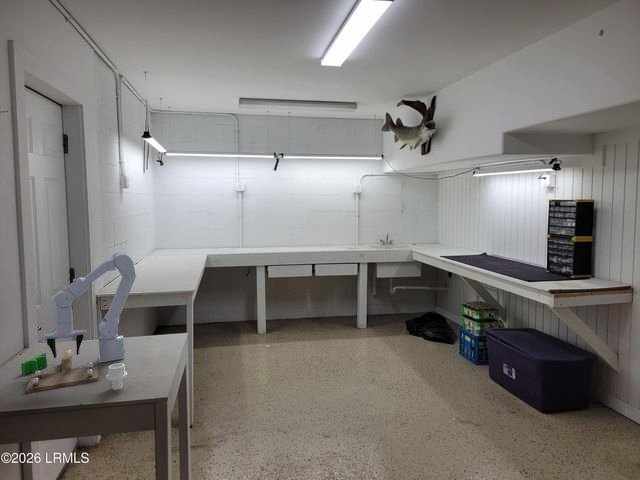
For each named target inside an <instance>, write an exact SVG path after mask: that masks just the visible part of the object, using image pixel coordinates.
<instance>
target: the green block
mask: <svg viewBox="0 0 640 480" xmlns="http://www.w3.org/2000/svg"><path fill="white" fill-rule="evenodd" d="M20 365H21V366H20V367H21V369H20V370H21V375H23V376H26V375H27V374H29V373H31V372H32V373H35V371H37V370H40V369H42V368H45V369H46V368H47V367H48V363H47V353H46V352H44V353H41V354H39V355H37V356H34V357H32V358H30V359H28V360H26V361H24V362H21V363H20Z"/></svg>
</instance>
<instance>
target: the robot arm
mask: <svg viewBox="0 0 640 480" xmlns="http://www.w3.org/2000/svg"><path fill="white" fill-rule="evenodd" d="M134 264H135V263H134V261H133V260H132V258H131V257H130V256H129V255H127V254H125V253H123V252H122V251H121V252H120V251H119V252H115V253H114V254H113V255H112V256H110V257H108V258H106V259H105V260H103V262H101V263H100V264H99V265H98V266H96V267H95V268H94V269H93V270H91V272H89V273H88V274H87V275H86V276H84V277H78V278H73V279H72V282H71V283H70V284H69V285H67V286H66V287H63V288H61V290H62V291H61V290H60V291H58V292H56V294H55V296H54V298H53V301H54V302H55V324H56V325H55V326H56V327H55V328H56V332H53V333H52V332H51V333H47V334H43V342H46V344H47V346H48V347H49V348H50V350H51V351H50V352H52V355H53V358H54V359H56V358H57V349H56V348H57V347H56V340H57V339H58V340H59V339H66V338H74V337H76V338H75V341H76V342H75V343H76V353H75V354H76V356H79V355H80V354H79V353H80V348H81V344H82V342H83V340H84V337H86V336H87V333H88V332H87V329H79V330H78V329H74V315H73V314H74V313H73V309H72V304H73V302H74V300H76V299H77V298H79V297H80V296H81V295H83V294H85V292H87V290H89V289H90V285H91V283H93V282H95V281H96V280H97V279H99V278H100V277H101V276H103V275H104V274H105V273H107V272H108V271H109V272H110V271H111V272H112V271H116V270H117V271H118V272H119V274H120V276H121V279H120V282H119V284H118V286H117V288H116V291H115V293H114V296H113V298H112V301H111V303H110V305H109V308H108V311H107V312H106V314H104V317H103V319H102V320H100V322H99V323H98V325H97V330H98V332H99V333H100V335H99V337H98V351H99V352H98V353H99V355H98V363H107V362H111V361H119V360H125V345H124V335H119V334H118V333H119V323H120V316H121V314H122V313H123V310H124V306H125V305H126V303H127V300H128V296H129V295H130V292H131V290H132V287H133V285H134V283H135V280H136V278H137V275H136V274H137V273H136V271H135V266H134Z"/></svg>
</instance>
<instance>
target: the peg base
mask: <svg viewBox="0 0 640 480" xmlns="http://www.w3.org/2000/svg"><path fill="white" fill-rule="evenodd" d="M34 374H35V376H30V379H29V380H28V383H27V385H26V389H25V393H26V394H28V393H33V392H34V393H35V392H39V391H44V390H45V391H47V390H52V389H57V388H63V387H68V386H76V385H80V384H86V383H93V382H98V381H99V375H100V373H99V366H98V365H97V366H94V362H93V361H89V362H88V363H87V367H86V368H80V369H79V368H78V369H73V370H72V369H71V371H65V372H62V371H60V372H53V373H46V374H42V369H41V370H40V369H38V370H37V371H35V372H34Z"/></svg>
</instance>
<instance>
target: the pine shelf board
mask: <svg viewBox="0 0 640 480" xmlns="http://www.w3.org/2000/svg"><path fill="white" fill-rule="evenodd" d="M72 365H73V350H72V349H65V350H63V352H62V356H61V372H65V371H71V370H72Z"/></svg>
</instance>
